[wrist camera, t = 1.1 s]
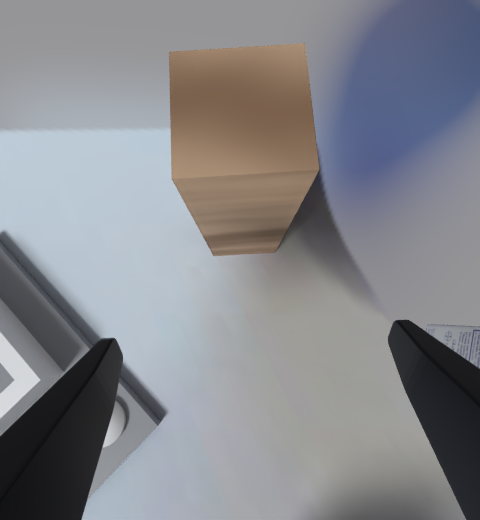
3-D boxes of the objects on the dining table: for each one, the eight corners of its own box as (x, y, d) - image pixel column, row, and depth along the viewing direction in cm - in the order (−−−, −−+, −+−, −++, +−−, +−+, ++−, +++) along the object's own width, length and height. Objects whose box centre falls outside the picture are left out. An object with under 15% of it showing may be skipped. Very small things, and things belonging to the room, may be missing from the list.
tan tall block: (275, 252, 24) (319, 169, 10) (213, 256, 24) (171, 178, 10) (269, 185, 25) (302, 25, 11) (210, 188, 25) (168, 33, 11)
